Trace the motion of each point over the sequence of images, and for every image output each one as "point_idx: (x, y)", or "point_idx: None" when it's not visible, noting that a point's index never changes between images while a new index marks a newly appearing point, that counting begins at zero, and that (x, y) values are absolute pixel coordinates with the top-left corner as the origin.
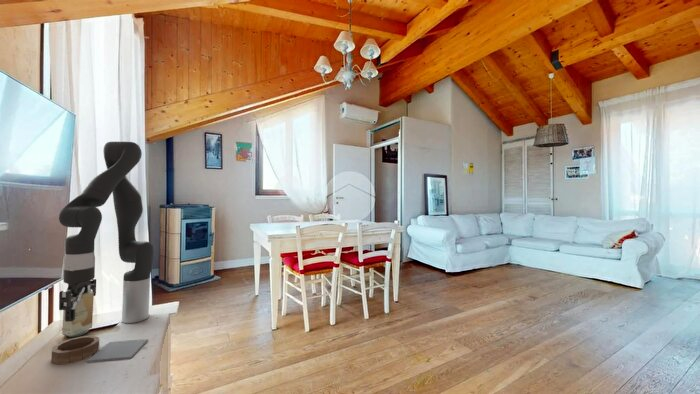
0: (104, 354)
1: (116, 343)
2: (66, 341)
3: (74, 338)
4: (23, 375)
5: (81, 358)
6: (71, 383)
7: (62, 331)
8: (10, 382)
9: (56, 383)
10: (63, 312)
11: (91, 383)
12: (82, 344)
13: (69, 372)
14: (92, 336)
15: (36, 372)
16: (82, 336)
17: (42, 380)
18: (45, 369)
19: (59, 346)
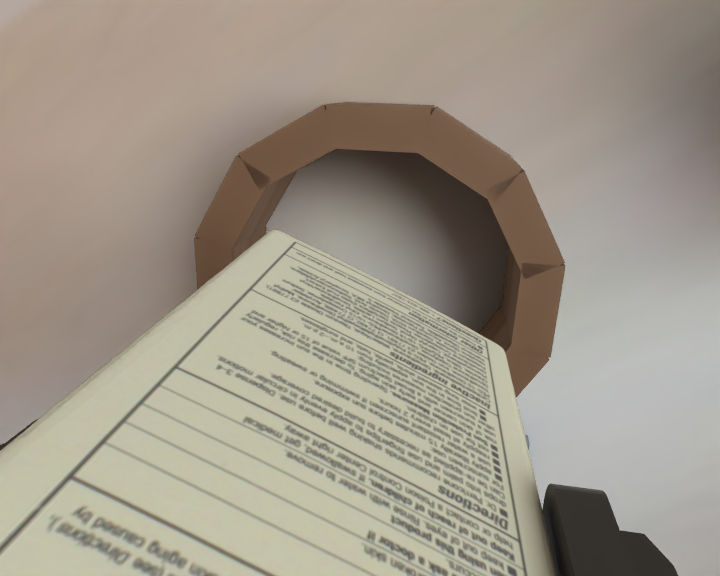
0: None
1: None
2: (457, 164)
3: (521, 208)
4: (99, 58)
5: None
6: (4, 421)
7: (260, 241)
8: (15, 34)
9: (4, 345)
10: (86, 381)
11: None
12: (511, 262)
13: (117, 353)
14: (520, 367)
15: (134, 129)
16: (555, 268)
17: (35, 243)
18: (170, 169)
19: (362, 149)
